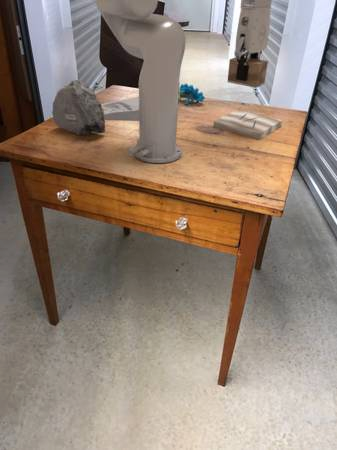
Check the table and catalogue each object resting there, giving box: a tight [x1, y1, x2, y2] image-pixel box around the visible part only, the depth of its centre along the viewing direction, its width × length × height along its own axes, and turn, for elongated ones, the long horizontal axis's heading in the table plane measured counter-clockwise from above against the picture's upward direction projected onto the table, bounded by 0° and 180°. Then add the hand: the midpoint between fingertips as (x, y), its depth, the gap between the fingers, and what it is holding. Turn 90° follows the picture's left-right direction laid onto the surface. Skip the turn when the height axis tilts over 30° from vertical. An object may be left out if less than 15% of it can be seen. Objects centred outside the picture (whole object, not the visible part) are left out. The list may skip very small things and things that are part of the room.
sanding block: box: [227, 56, 269, 89], centre depth 99 cm, size 5×9×6 cm, turn 52°
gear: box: [178, 83, 205, 106], centre depth 132 cm, size 11×6×10 cm
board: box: [212, 109, 283, 141], centre depth 114 cm, size 16×16×2 cm
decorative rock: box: [51, 79, 106, 136], centre depth 100 cm, size 16×7×15 cm, turn 58°
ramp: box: [100, 96, 139, 122], centre depth 119 cm, size 28×16×5 cm, turn 73°
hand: (246, 77), depth 100 cm, fingers closed on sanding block, 5 cm apart
